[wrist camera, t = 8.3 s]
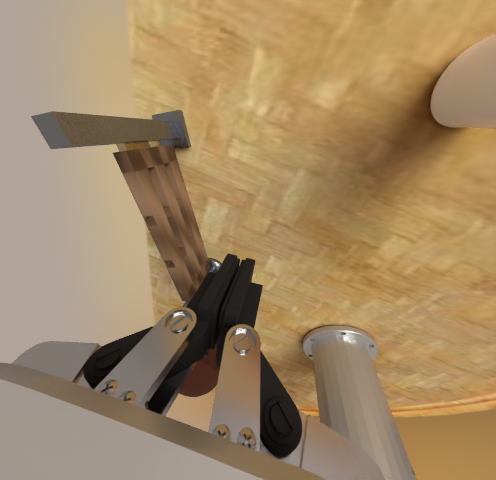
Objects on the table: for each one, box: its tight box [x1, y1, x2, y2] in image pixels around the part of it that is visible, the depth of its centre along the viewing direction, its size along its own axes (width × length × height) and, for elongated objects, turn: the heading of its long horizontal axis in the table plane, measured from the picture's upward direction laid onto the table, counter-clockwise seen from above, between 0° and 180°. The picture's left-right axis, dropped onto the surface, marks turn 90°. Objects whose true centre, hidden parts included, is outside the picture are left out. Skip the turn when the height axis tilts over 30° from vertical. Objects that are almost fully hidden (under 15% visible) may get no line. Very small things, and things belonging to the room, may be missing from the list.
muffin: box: [179, 343, 219, 397], centre depth 37 cm, size 12×11×10 cm
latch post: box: [32, 110, 191, 152], centre depth 15 cm, size 5×3×12 cm
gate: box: [113, 145, 210, 301], centre depth 20 cm, size 16×1×6 cm, turn 8°
